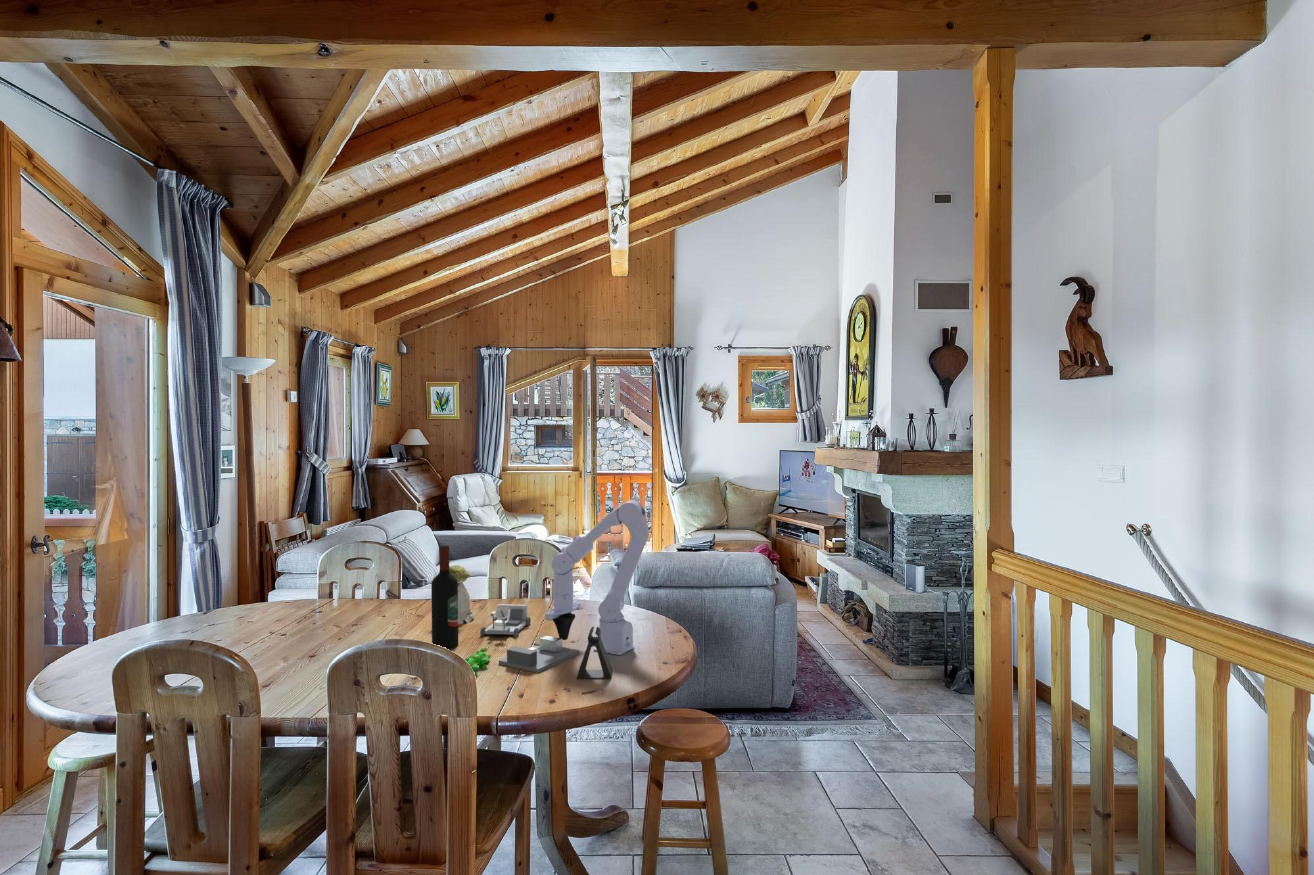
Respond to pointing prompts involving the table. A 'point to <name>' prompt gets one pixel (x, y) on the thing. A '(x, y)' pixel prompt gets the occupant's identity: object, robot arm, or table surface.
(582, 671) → the phone stand
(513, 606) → the toy car
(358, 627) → the table surface
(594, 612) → the table surface
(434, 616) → the wine bottle
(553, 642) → the plunger
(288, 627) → the table surface
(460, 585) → the yellow-capped mushroom figurine
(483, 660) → the crocodile figurine
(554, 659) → the gauge base
